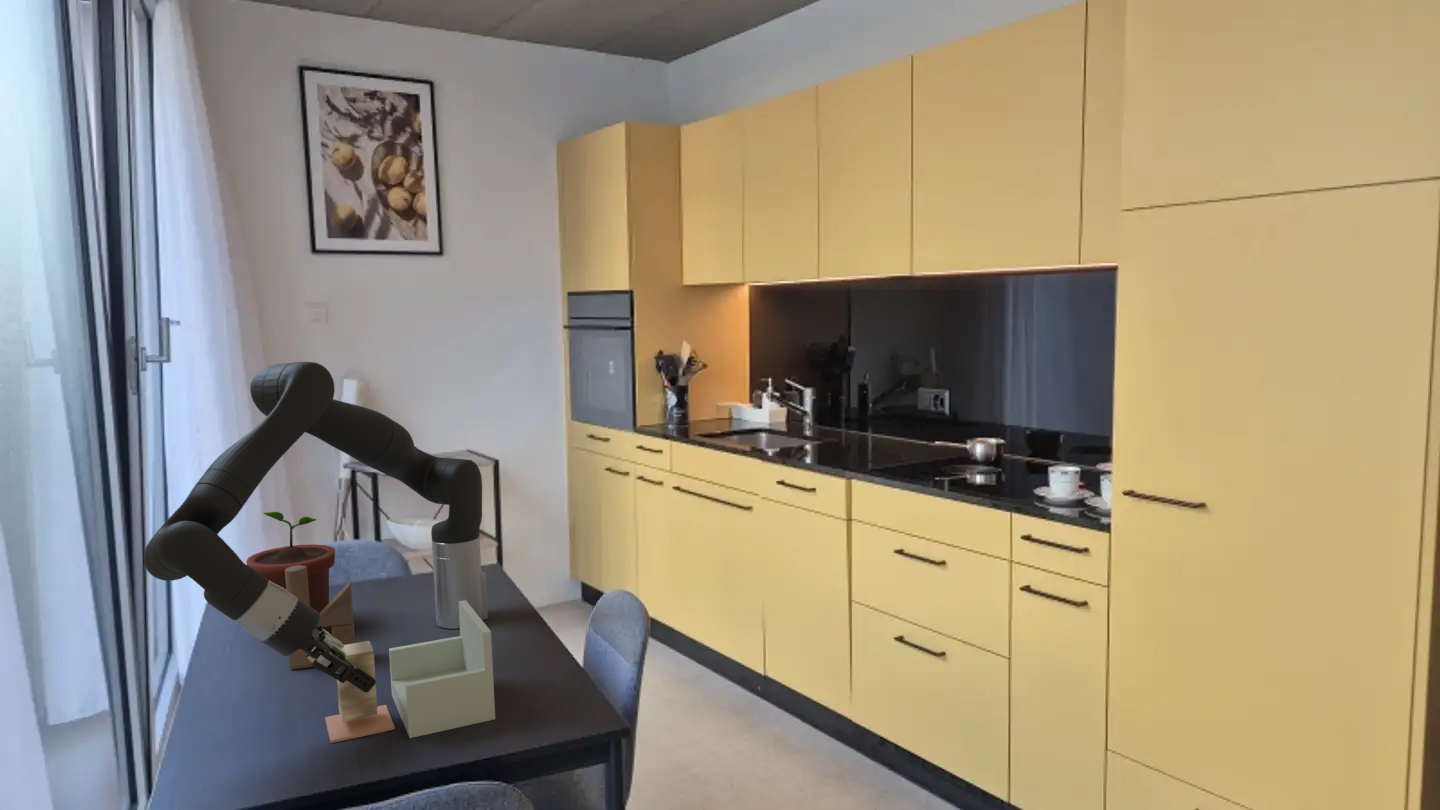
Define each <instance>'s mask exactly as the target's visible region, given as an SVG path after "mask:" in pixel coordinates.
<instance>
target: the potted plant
mask: <svg viewBox="0 0 1440 810" xmlns="http://www.w3.org/2000/svg"><path fill="white" fill-rule="evenodd" d="M263 514H264V515H265V516H267V517H271V518H273V519H275V520H277V521H279V522H283V523H286V524H288V526H289V545H288V546H287V545H286V546H281V547H274V548H270V549H266V550H263V551H259V552H257V553H254V554H252V555H250V556H248V557H247V559H246V565H248V566H249V567H251V568H252V569H254V570H255V571H257V572H258V573H260V574H261V575H262V576H264V577H265V578H267V579H268V580H270V581H271V582H273V583H275V584H277V585H279V586H281V587H283V588H284V589H286V577H285V569H286V568H288V567H291V566H297V565H302V566H306V567H307V575H308V588H309V602H310V607H311V608H313V609H314V610H316V611H317V612H318V613H320V612H321V611H322V610H323V609H324V608H325V607H326V606H327V605H328V604H329V603H330V569H331V568H332V567H333V566H334V565H335V561H336V560H335V558H336V557H335V556H336V548H334V547H333V546H330V545H325V544H316V543H315V544H296V545H295V544H294V545H293V529H294V528H296V527H299V526H303V525H307V524H310V523H312V522H315V521H317V518H312V517H310V516H303V517H300V518H299V519H298V523H297V524H294V525H293V524H291V523H292V522H290V521H288V520H286V519H284V518H285V517H284V514H283V513H282V512H280V511H267V512H266V511H265V512H263ZM322 628H324V629H325V630H326V631H328V632H330V631H329V630H330V626H328V627H322Z"/></svg>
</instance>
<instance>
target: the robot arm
mask: <svg viewBox="0 0 1440 810" xmlns="http://www.w3.org/2000/svg"><path fill="white" fill-rule="evenodd" d="M249 387H250V389H249V391H250V396H251V399H252V402H253V403H254V405H255V407H256V408H257V409H258V410H259V412H261V414H263V415H264V416H265V418H264V419H263V420H262V421H261V422H259V424H257V425H256V427H254V428H253V429H252V430H251V431H249V432H248V433H246V434H245V435H244V436H242V437H241V438H240V439H238V440H237V441H236V442H235V443H233V444H231V446H229V447H228V448H227V449H225V450H224V451H223V452H222V453H221V454H220V455H219V456H217V458H215V460H214V461H213V462H212V463H211V464H210V466H209V467H208V468H207V469H206V470H205V471H204V473H203V475H202V476H201V477H200V478H199V479H198V481H197V482H196V484H195V485H194V486H193V488H192V489H191V491H190V492H189V494H188V495H187V497H186V499H185V500H184V501H183V502H182V504H180V506H178V508H177V509H176V510H175V511H174V512H173V513H172V515H170V516H169V518H168V519H166V521H165V522H164V523H163V524H162V526H160V528H159V529H158V530H157V531H156V532H155V533H154V535H153V536H152V537H151V539H150V540H149V542H148V543H147V545H146V547H145V548H144V553H143V562H144V563H143V564H144V567H145V569H146V571H147V572H148V573H149V574H150V576H152V577H154V578H155V579H157V580H161V581H167V582H168V581H169V582H170V581H177V580H181V579H183V578H185V577H189V578H190V579H191V580H193V581H194V582H195V583H196V584H197V585H199V586H200V587H201V588H202V589H203V590H204V592H203V598H204V599H205V601H206V602H207V603H208V604H209V605H211V606H212V607H213V608H214V609H216V610H217V611H219V612H220V613H222V614H223V615H225V616H226V617H228V618H229V619H231V620H232V621H233V622H235V623H236V624H237V625H238V626H240V627H241V628H242V629H243V630H244V631H245V632H247V633H248V634H250V635H251V636H253V637H254V638H255V639H258V640H259V641H260V642H261V643H264V645H266V646H268V647H269V648H271V649H273V650H274V651H275V652H276V653H278V654H279V655H281V656H282V657H289V656H290V655H292V654H293V653H295V651H297V650H299V649H302V650H303V651H304V652H305V653H306V654H307V655H306V656H305V657H306V658H307V659H308V660H310V661H311V662H312V664H313V666H314V667H313V668H316V669H317V670H320V671H321V672H323V673H325V674H327V675H329V676H330V677H331V678H333V679H335V680H336V681H337V680H338V681H339V682H342V683H344V682H345V681H349V682H350V683H352V684H353V685H355V686H356V687H357V688H359V689H360V690H362V691H363V692H365V693H367V692H369V691H370V690H371V688H372V687H373V686H374V685H375V683H377V682H376V678H375V679H374V678H372V677H371V676H370V675H368V674H367V673H365V672H364V671H362V670H361V669H359V668H358V667H357V666H356V665H355V664H353V663H352V662H350V661H349V660H347V659H346V655H347V654H346V653H345V652H344V651H343V650H341V649H340V648H339V647H342V646H344V645H346V644H343V643H342V642H341V641H340V640H338V639H337V638H336V637H334V636H333V635H332V633H330V631H326V630H325V629H324V628H322V626H321V625H318V623H319V621H320V614H319V613H318V612H317V611H316V610H314V609H313V608H311V607H310V606H308V605H307V604H306V603H304V602H303V601H301V600H300V599H299V598H297V597H296V596H294V595H293V594H291V593H290V592H289V591H287V590H286V589H284V588H283V587H281V586H279V585H277V584H275V583H273V582H271V581H270V580H268V579H267V578H265V577H264V576H262V575H261V574H260V573H258V572H257V571H255V570H254V569H252V568H251V567H249V566H248V565H247V563H244V561H243V560H242V559H241V558H240V557H239V555H237V553H236V552H235V551H234V549H232V548H231V547H230V546H229V544H227V542H226V541H225V540H224V539H223V538H222V537H220V535H219V533H220V532H221V531H222V530H223V529H224V528H226V527H227V525H229V524H230V523H231V522H232V521H233V520H234V519H235V518H236V517H237V515H238V514H239V513H240V512H241V510H242V509H243V507H244V506H245V504H246V503H247V502H248V500H249V499H250V497H251V496H252V494H253V493H254V492H255V490H256V489H257V487H258V486H259V484H260V483H261V482H262V480H263V479H265V477H266V476H267V474H268V473H269V472H270V471H271V469H272V468H273V467H274V466H275V465H276V464H277V463H278V462H279V460H280V459H281V458H282V457H283V456H284V454H285V453H287V452H288V451H289V450H290V449H291V447H293V445H294V444H295V443H297V441H298V440H299V439H301V437H302V436H303V435H304V434H305V433H307V434H308V435H311V436H313V437H315V438H317V439H318V440H320V441H322V442H324V443H326V444H327V445H330V446H331V447H333V448H335V449H336V450H339V451H341V452H342V453H345V454H346V455H348V456H349V457H352V459H355V460H357V461H358V462H359V463H360V462H361V463H362V464H364V465H366V466H367V467H370V468H371V469H374V470H376V471H379V472H380V473H382V474H384V475H386V476H388V477H391V478H393V479H396V480H397V481H400V483H403V484H404V485H406V486H407V487H408V488H410V489H411V490H412V491H414V492H415V493H417V494H418V495H419V496H420V497H422V498H423V499H425V500H426V501H428V502H429V503H433V504H436V505H437V504H438V505H447V506H448V517H447V518H446V519H444V520H441V521H439V522H437V523H435V524H433V525H432V527H431V535H430V536H431V551H432V566H433V570H432V571H433V585H434V586H433V587H434V601H435V602H434V603H435V604H434V605H435V619H436V625H437V626H438V627H440V628H443V629H454V630H456V629H460V620H459V601H464V600H466V601H467V602H468V604H469V605H470V606H471V607H472V609H473V610H474V611H475V612H476V613H477V615H478V616H479V617H480V618H481V620H482V621H483V622H484V620H486V619H489V611H488V595H487V593H488V592H487V576H486V572H485V571H482V559H481V557H482V556H481V542H480V541H481V540H480V536H481V535H480V528H481V526H482V525H481V523H482V521H483V480H482V478H483V477H482V474H481V473H482V472H481V471H480V468H479V466H478V464H477V463H476V462H475V461H473V460H471V459H465V458H453V457H452V458H450V457H439V456H435V455H432V454H430V453H427V452H426V451H423V450H422V449H419V448H418V447H417V446H415V443H414V440H413V438H412V435H411V433H410V432H409V431H408V430H407V429H406V428H405V427H404V426H403V425H401V424H400V423H398V422H396V421H395V420H394V419H391V418H390V417H389V416H387V415H385V414H383V413H382V412H379V411H376V410H373V409H371V408H368V407H364V406H360V405H358V404H354V403H350V402H346V401H342V400H339V399H334V395H335V391H336V390H335V381H334V379H333V376H332V374H331V372H330V371H329V370H328V369H327V368H326V367H325V366H324V365H322V364H320V363H318V362H314V361H313V362H312V361H295V362H286V363H284V362H283V363H277V364H274V365H269V366H267V367H264V368H262V369H260V370H259V371H258V372H256V373H255V375H254V376H253V378H252V380H251V383H250V385H249ZM338 654H339V657H337V655H338ZM341 666H343V667H345V668H346V669H345V670H344V671H343V672H342V673H341V672H340V671H339V670H338V669H339V668H340V667H341Z"/></svg>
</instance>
